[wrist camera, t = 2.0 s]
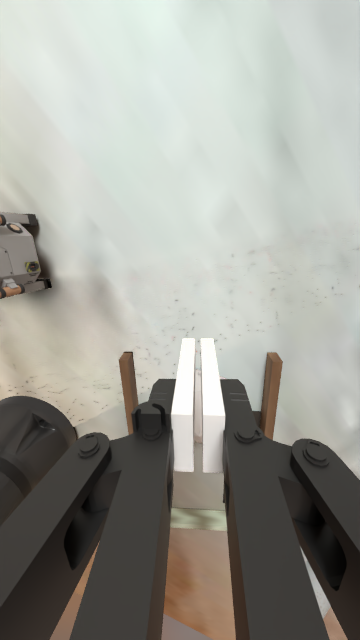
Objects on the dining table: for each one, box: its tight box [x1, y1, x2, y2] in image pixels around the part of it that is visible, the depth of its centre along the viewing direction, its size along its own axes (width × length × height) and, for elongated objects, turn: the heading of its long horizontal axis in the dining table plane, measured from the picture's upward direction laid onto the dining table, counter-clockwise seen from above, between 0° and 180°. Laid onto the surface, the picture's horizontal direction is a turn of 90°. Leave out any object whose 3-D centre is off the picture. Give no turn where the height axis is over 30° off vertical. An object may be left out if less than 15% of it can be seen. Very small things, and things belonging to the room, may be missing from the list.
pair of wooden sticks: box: [119, 352, 283, 531], centre depth 37 cm, size 21×34×2 cm, turn 2°
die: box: [194, 369, 226, 443], centre depth 29 cm, size 8×9×10 cm
